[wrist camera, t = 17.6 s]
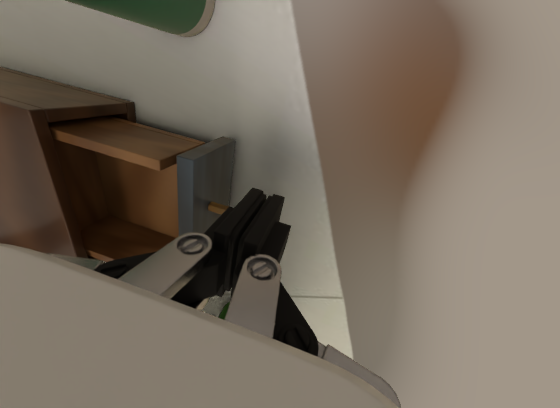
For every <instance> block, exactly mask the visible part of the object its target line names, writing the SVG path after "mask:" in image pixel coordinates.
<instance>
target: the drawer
mask: <svg viewBox="0 0 560 408" xmlns="http://www.w3.org/2000/svg"><path fill="white" fill-rule="evenodd" d="M48 125H49V128H50V131H51V135H52V138H53V142H54V145H55V148H56V152H57V155H58V159H59V162H60V165H61V169H62V172H63V176H64V179H65V182H66V186H67V189H68V193H69V196H70V199H71V203H72V206H73V210H74V213H75V216H76V220H77V223H78V227H79V230H80V233H81V237H82V240H83V244H84V247H85V250H86V254H87V255H89V256H91V257H94V258H97V259H99V260H103V261H105V262H109V261H112V260H116V259H121V258H126V257H131V256H136V255H141V254H146V253H151V252H156V251H158V250H160V249H161V248H163V247H164V246H165V245H167V244H168V243H170V242H171V241H173V240H174V239H176V238H177V237H179V236H180V235H182V234H185V233H190V232H198V233H202V234H204V233H205V232H206V231H207V229H208V228H209V227H210V226H211V225H212V224H213V223H214V222H215V221H216V220H217V219H218V218H219V217H220V216H221V215H222V213H223V212H224V211H225V210H226V209H227V208H228V207H229V199H230V189H231V179H232V169H233V160H234V150H235V140H234V139H230V138H227V137H221V138H218V139H216V140H214V141H211V142H209V143H206V144H205V142H203V141H199V140H195V139H192V138H188V137H185V136H181V135H178V134H174V133H170V132H167V131H163V130H160V129H156V128H152V127H149V126H145V125H142V124H138V123H134V122H131V121H127V120H124V119H120V118H117V117H113V116H109V115H107V116H99V117H90V118H82V119H74V120H65V121H57V122H48Z"/></svg>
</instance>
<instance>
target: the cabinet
mask: <svg viewBox="0 0 560 408" xmlns="http://www.w3.org/2000/svg"><path fill="white" fill-rule="evenodd" d="M107 115H109V116H113V117H117V118H120V119H124V120H127V121H131V122H134V123H136V117H135V108H134V102H130V101H127V100H123V99H119V98H115V97H112V96H108V95H104V94H100V93H97V92H93V91H89V90H85V89H82V88H78V87H74V86H70V85H67V84H63V83H59V82H55V81H52V80H48V79H44V78H40V77H37V76H33V75H29V74H25V73H22V72H18V71H14V70H10V69H7V68H3V67H0V243H2V244H9V245H14V246H19V247H23V248H28V249H32V250H35V251H38V252H42V253H53V254H60V255H67V256H74V257H81V258H89V259H96V260H99V259H97V258H94V257H91V256H89V255H87V254H86V250H85V247H84V244H83V240H82V237H81V233H80V230H79V227H78V223H77V220H76V216H75V213H74V210H73V206H72V203H71V199H70V196H69V193H68V189H67V186H66V182H65V179H64V176H63V172H62V169H61V165H60V162H59V159H58V155H57V152H56V148H55V145H54V142H53V138H52V135H51V131H50V128H49V125H48V122H57V121H65V120H74V119H82V118H90V117H99V116H107Z"/></svg>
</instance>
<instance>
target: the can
mask: <svg viewBox="0 0 560 408" xmlns="http://www.w3.org/2000/svg"><path fill="white" fill-rule="evenodd" d="M65 1H68V2H72V3H75V4H78V5H81V6H84V7H88V8H91V9H94V10H97V11H100V12H104V13H107V14H110V15H113V16H117V17H120V18H123V19H126V20H129V21H133V22H136V23H139V24H142V25H145V26H149V27H152V28H155V29H158V30H161V31H165V32H168V33H171V34H176V35H179V36H183V37H191V36H194V35H197V34H198V33H200V32H201V31H202V30H204V29H205V27H206V26H207V25H208V23H209V21H210V19H211V17H212V14H213V10H214V5H215V0H65Z"/></svg>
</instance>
